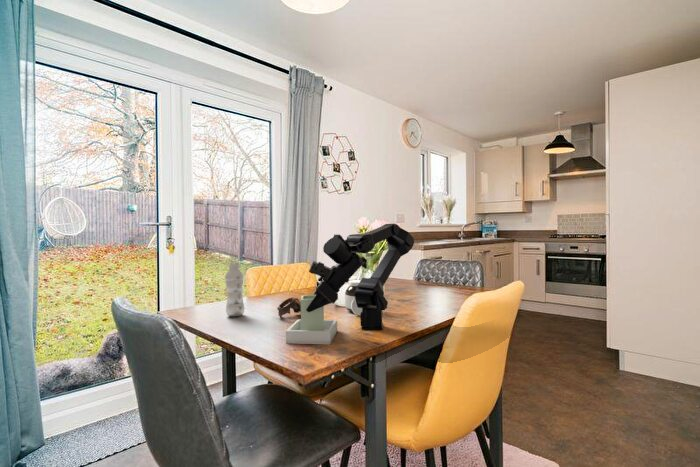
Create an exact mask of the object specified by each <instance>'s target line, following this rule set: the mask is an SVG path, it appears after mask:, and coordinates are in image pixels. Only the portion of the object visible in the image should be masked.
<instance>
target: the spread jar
mask: <svg viewBox="0 0 700 467" xmlns="http://www.w3.org/2000/svg"><path fill="white" fill-rule="evenodd" d="M360 281H361V279H355V280H349V281H348V283H349V284H348V285H349V286H348V287H347V288H346V290H345V293H344V305H345V308H346V310H347V311H348V312H349V313H352V314H355V315H356V316H359V317H360V314H361V312H362V308H358V307H357V303H356V300H355V291H356V289H357V287H356V286H357V285H358V284H359V283H360Z"/></svg>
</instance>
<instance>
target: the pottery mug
mask: <svg viewBox="0 0 700 467" xmlns="http://www.w3.org/2000/svg"><path fill="white" fill-rule="evenodd" d="M276 309H277V310H278V316H279V318H282V317H283V316H284V315H288V314H289V315H290V314H291V309H292V311H293V313H296V314H297V313H298V314H299V313H301V300H300V299H299V298H296V297H294V296H293V297H289V298H287V299H285V300H283V301H282V302H281V303H280V304H279V305H278V307H277V308H276Z"/></svg>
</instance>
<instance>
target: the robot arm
mask: <svg viewBox="0 0 700 467" xmlns="http://www.w3.org/2000/svg"><path fill="white" fill-rule="evenodd" d="M414 239H415V238H414V237H413V236H412V235H411V233H410V232H409V231H407V230H406V229H403V228H401V227H400V226H399V225H398V224H397V223H385V224H383V225H382V226H379V227H377V228H374V229H372V230H369V231H367V232H366V233H365V232H364V233H356V234H355V233H353V234H349V235H348V236H346V239H344V238H343V236H342V235H341V234H334V235H333V237H331V238H329V239H328V240H327V241H326V243H324V245H323V247H322V248H323V249H322V250H323V253H325V255H326V256H328V257H329V258H330V259H331V260H332V261H333V262H334V263H336V264H335V265H331V267H329V266H328V265H327V266H326V265H325V263H323V262H321V261H319V262H317V261H315V260H313V261H312V263H311V265H310V268H309V270H308V272H309V273H310V274H312V275H316V276H318V279H317V281H316V287H315V291H314V293H313V294H312V295H316V296H315V297H314V299H313V300H312V302H311V303H310V305H309V306H308V308H307V309H306V311H308V312H311V311H313V310H316V309H318V308H320V307H323V306H324V307H325V306H328V305H329V304H330V305H331V304H335V303H336V301H337V300H339V292H340V289H341V288H342V287H343V286H344V285H345V284H346V283H349V281H350V279H351V278H352V277H353V275H354V274H355V273H356V272H357V271H358V270H360V268H361V267H362V268H364V269H367V268H368V264H367V263H368V259H367V258H365V257H364V256H362V257H361V256H360V255H359V254H369V253H370V252H371V251H372V250H373V249H374V248H375V245H376V244H378V243H380V242H383V241H384V240H385V242H386V243H387V248H388V249H387V251H386V252H385V255H384V256H383V257H382V259H381V261H380V262H379V264H378V265H377V267H376V268H375V270H374V272H373V273H372V274H371V276H370V277H362V278H361V279H360V280H361V281H360V283H359V284H358V285H357V286H356V287H357V289H356V291H355V300H356V303H357V307H358V308H362V312H361V314H360V316H359V317H360V327H361V330H363V331H364V330H367V331H368V330H370V331H372V330H376V331H383V327H384V323H383V311H386V310H387V308H388V303H389V302H388V301H387V299H386V298H385V296H384V295H385V291H384V285H385V284H386V282H387V280H388V279H389V277H390V275H392V272H393V271H394V269H395V267H396V265H397V263H398V262H399V260H400V259H401V257H404V256H405V255H407V254H408V253H409V252H410V251H411V250H412V248H413V246H414V244H415V240H414Z"/></svg>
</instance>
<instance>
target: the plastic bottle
mask: <svg viewBox="0 0 700 467" xmlns="http://www.w3.org/2000/svg"><path fill="white" fill-rule="evenodd" d="M224 281H225V285H226V306H225V312H226V315H227V316H228V317H232V318H233V317H236V316H237V317H240V316H243V314H244V313H245V303H244V298H243V283H244V274H243V273H242V271H241V270H240V262H239V261H238V262H237V261H234V262H228V271H227V272H226V273H225V275H224Z"/></svg>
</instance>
